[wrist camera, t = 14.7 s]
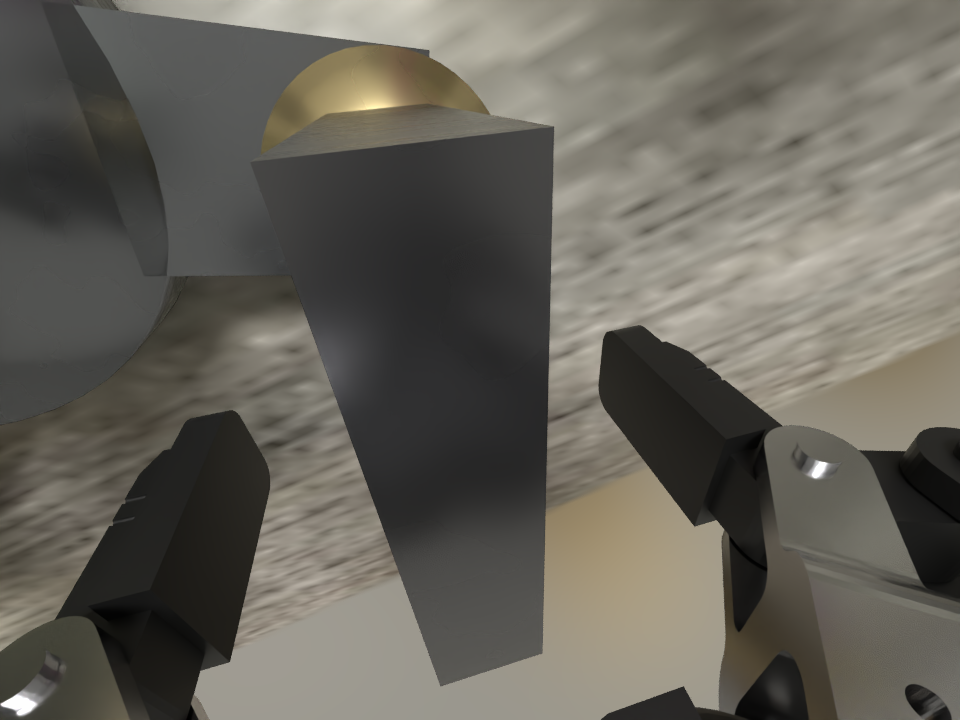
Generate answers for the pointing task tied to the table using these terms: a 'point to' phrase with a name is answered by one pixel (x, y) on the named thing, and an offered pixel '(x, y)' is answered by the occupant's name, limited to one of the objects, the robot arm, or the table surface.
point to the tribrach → (125, 179)
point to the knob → (429, 326)
